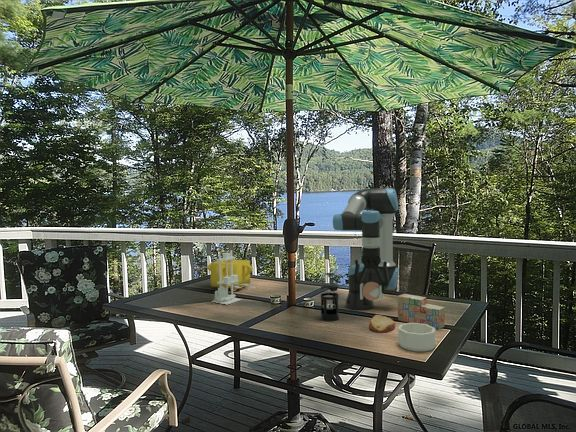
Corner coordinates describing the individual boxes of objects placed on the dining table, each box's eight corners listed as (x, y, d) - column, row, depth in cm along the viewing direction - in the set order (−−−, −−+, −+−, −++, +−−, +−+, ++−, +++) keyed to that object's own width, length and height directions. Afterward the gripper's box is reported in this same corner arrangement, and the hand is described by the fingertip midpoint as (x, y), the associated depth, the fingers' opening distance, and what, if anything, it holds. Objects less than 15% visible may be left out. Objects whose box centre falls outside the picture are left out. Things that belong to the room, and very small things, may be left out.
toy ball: (376, 303, 176) (376, 284, 175) (359, 301, 180) (359, 283, 179) (383, 299, 183) (383, 281, 182) (366, 296, 187) (366, 279, 186)
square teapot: (263, 285, 289) (263, 254, 288) (241, 295, 262) (240, 261, 260) (220, 281, 303) (219, 252, 302) (195, 291, 276) (194, 259, 275)
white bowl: (396, 348, 170) (396, 331, 169) (402, 337, 183) (402, 321, 182) (432, 353, 164) (432, 336, 164) (436, 341, 177) (436, 325, 176)
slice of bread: (380, 318, 212) (380, 310, 211) (408, 327, 196) (408, 319, 196) (353, 324, 202) (353, 317, 202) (379, 335, 187) (379, 326, 187)
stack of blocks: (445, 326, 196) (445, 300, 195) (438, 330, 192) (438, 303, 191) (404, 317, 211) (404, 293, 211) (397, 320, 207) (397, 295, 206)
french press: (332, 322, 204) (331, 276, 203) (316, 319, 210) (315, 274, 209) (344, 316, 214) (343, 272, 213) (328, 313, 220) (327, 270, 218)
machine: (211, 302, 246) (210, 251, 244) (226, 298, 256) (224, 249, 254) (249, 310, 230) (248, 255, 228) (263, 304, 240) (262, 252, 238)
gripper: (345, 247, 181) (345, 299, 182) (393, 249, 172) (394, 304, 173) (350, 244, 187) (350, 295, 189) (397, 246, 179) (397, 299, 180)
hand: (371, 299), depth 181 cm, fingers closed on toy ball, 8 cm apart
